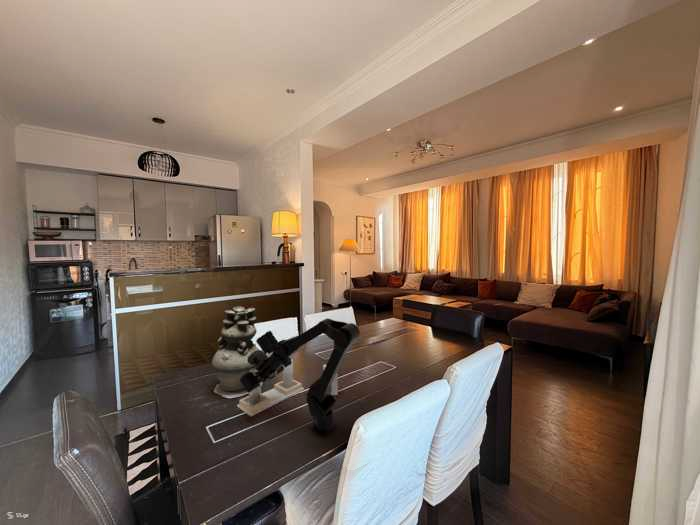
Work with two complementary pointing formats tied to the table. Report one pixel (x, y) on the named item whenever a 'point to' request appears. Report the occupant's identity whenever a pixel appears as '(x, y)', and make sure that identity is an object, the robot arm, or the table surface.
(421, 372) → the table surface
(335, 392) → the skincare box
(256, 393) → the clear drinking glass
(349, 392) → the table surface
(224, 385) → the decorative urn
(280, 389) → the white oblong stand
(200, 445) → the table surface
